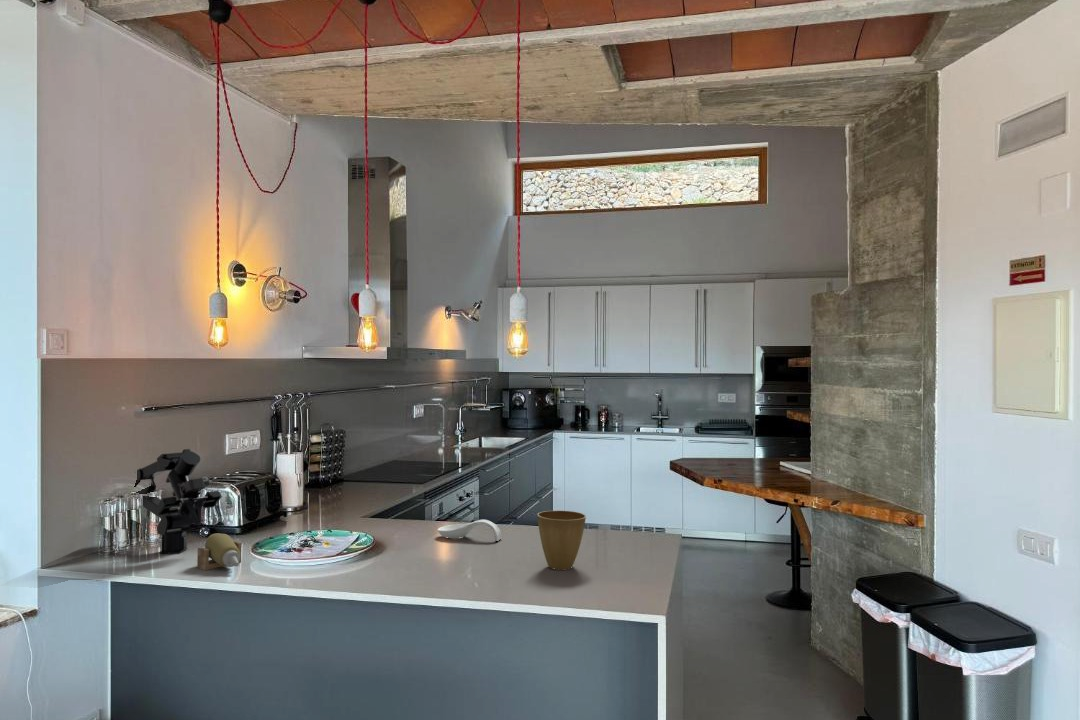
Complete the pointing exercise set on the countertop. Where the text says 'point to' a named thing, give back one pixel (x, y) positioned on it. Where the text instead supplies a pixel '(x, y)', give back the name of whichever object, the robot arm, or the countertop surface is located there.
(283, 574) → the countertop surface
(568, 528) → the plant pot
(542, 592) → the countertop surface
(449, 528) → the spoon rest
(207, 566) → the u rest
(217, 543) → the squeeze bottle
